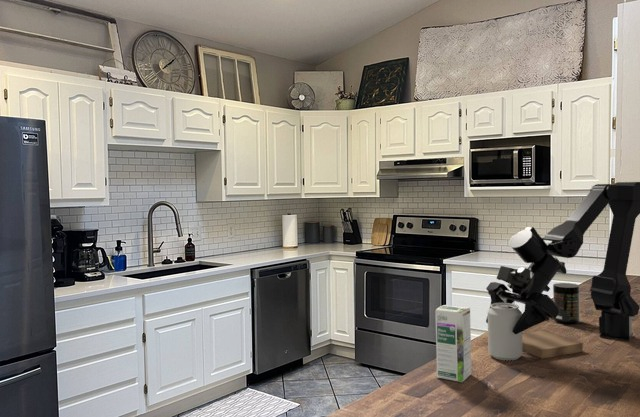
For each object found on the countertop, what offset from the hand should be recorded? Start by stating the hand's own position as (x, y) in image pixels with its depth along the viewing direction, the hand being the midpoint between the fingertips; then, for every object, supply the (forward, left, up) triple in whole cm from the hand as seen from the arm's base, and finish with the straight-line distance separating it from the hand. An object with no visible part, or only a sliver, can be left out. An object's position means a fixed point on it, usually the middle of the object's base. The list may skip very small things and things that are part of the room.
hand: (500, 327), depth 121 cm
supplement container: (-4, -39, -7) cm, 40 cm away
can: (-1, -1, -7) cm, 7 cm away
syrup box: (+3, +17, -7) cm, 19 cm away
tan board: (-6, -12, -7) cm, 15 cm away
